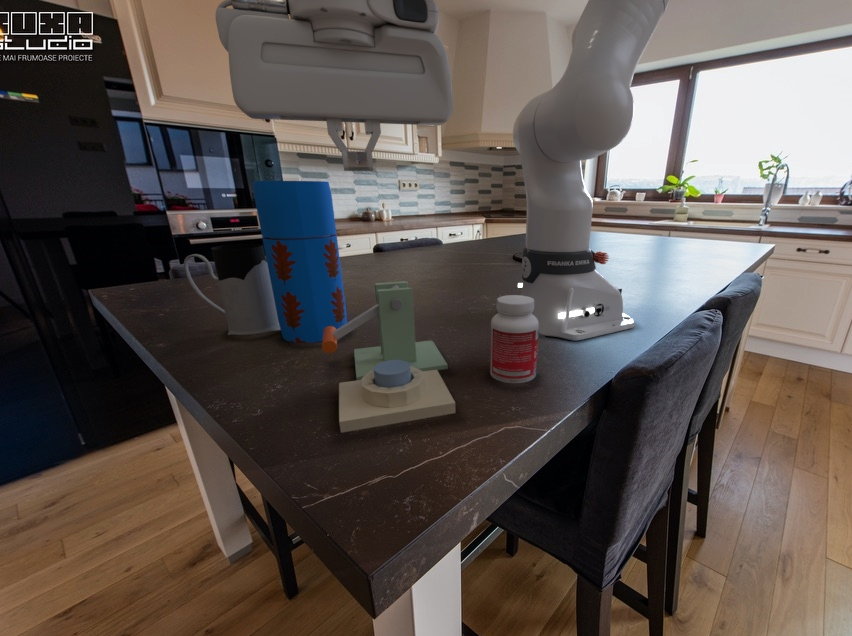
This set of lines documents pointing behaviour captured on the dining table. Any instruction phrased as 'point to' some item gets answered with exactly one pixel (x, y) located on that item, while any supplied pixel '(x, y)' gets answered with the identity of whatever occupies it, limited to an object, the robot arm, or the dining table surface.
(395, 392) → the control block
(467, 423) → the dining table surface
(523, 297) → the pill bottle
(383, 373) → the power button
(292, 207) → the thermos
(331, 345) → the switch lever
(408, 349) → the green lever stand
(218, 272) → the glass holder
